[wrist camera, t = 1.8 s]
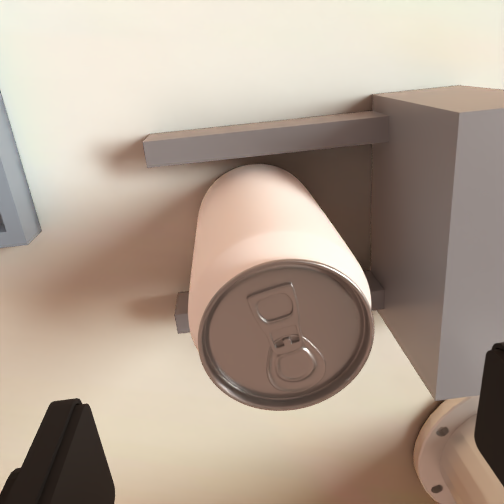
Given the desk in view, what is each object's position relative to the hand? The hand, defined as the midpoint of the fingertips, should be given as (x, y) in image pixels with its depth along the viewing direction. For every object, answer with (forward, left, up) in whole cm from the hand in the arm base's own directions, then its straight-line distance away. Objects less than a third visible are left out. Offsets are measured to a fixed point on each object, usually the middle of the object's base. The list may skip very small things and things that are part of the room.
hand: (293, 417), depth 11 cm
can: (0, 0, -16) cm, 16 cm away
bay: (0, -3, -16) cm, 16 cm away
